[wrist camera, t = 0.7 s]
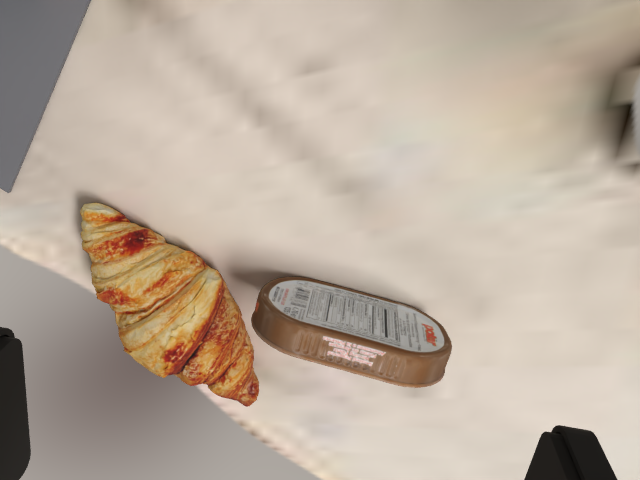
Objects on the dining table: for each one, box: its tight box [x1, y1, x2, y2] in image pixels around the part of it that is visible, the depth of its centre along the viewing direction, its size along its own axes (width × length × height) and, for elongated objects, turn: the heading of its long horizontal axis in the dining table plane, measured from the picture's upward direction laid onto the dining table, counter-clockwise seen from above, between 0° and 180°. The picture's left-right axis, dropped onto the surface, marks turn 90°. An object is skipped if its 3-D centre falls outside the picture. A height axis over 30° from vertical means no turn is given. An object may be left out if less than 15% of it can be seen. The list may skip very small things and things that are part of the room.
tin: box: [251, 277, 452, 388], centre depth 43 cm, size 15×3×8 cm, turn 76°
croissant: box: [80, 202, 259, 407], centre depth 46 cm, size 21×10×8 cm, turn 38°
